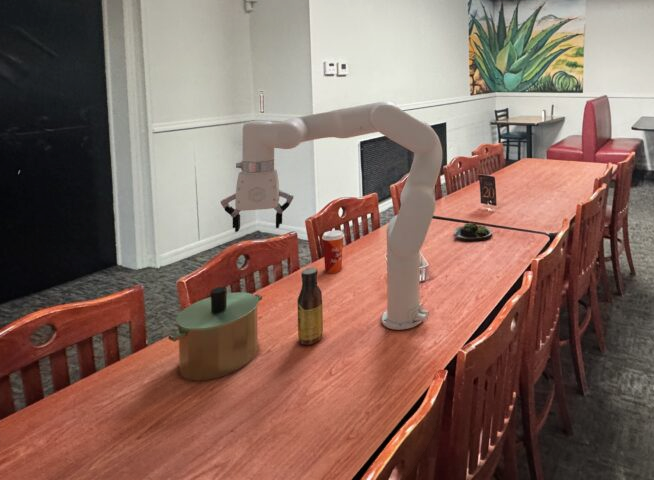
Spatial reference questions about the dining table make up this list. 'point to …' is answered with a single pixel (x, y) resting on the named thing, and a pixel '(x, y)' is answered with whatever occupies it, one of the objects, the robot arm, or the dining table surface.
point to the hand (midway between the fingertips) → (257, 228)
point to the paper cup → (333, 250)
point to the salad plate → (472, 232)
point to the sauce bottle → (310, 308)
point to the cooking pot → (217, 348)
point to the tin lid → (217, 310)
